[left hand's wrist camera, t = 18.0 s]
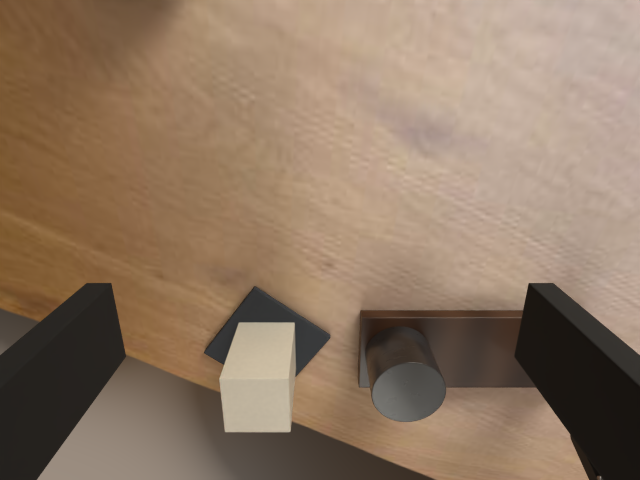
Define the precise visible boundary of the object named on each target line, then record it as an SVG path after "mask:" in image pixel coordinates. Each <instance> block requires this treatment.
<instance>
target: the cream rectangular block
mask: <svg viewBox="0 0 640 480" xmlns="http://www.w3.org/2000/svg"><path fill="white" fill-rule="evenodd" d="M295 373H296V352H295V323H294V322H239V324H238V326H237V329H236V332H235V335H234V338H233V341H232V344H231V347H230V349H229V352H228V355H227V358H226V361H225V364H224V367H223V370H222V372H221V375H220V378H219V381H220V391H221V400H222V409H223V418H224V428H225V432H290V431H291V420H292V408H293V396H294V385H295Z"/></svg>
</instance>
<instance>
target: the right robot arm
mask: <svg viewBox="0 0 640 480" xmlns="http://www.w3.org/2000/svg"><path fill="white" fill-rule="evenodd" d="M570 436H571V434H570ZM571 440H572V443H573V445H574V447H575V449H576V451H577V454H578V456H579V458H580V460H581V463H582V465H583V467H584V469H585V471H586V474H587V476H588V478H589V480H603V479H602V477H601V476H600V474H599V473H598V472H597V470H596V469H595V467H594V466H593V465H592V463H591V462H590V461H589V459H588V458H587V456H586V455H585V454H584V452H583V451H582V450H581V448H580V447H579V445H578V444H577V443H576V441H575V440H574V439H573V437H572V436H571Z"/></svg>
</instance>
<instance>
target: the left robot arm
mask: <svg viewBox="0 0 640 480" xmlns="http://www.w3.org/2000/svg"><path fill="white" fill-rule="evenodd" d="M125 357H126V354H125V349H124V344H123V339H122V334H121V329H120V324H119V319H118V315H117V310H116V305H115V300H114V295H113V290H112V285H111V283H86V284H85V285H84V286H83V287H82V288H80V289H79V290H78V291H77V292H76V293H74V294H73V295H72V296H71V297H70V298H68V299H67V300H66V301H65V302H64V303H62V304H61V305H60V306H59V307H58V308H56V309H55V310H54V311H53V312H52V313H50V314H49V315H48V316H47V317H46V318H44V319H43V320H42V321H41V322H40V323H38V324H37V325H36V326H35V327H34V328H33V329H31V330H30V331H29V332H28V333H26V334H25V335H24V336H23V337H22V338H20V339H19V340H18V341H17V342H16V343H15V344H13V345H12V346H11V347H10V348H9V349H7V350H6V351H5V352H4V353H2V354H1V355H0V480H37V479H38V477H39V476H40V474H41V473H42V472H43V470H44V469H45V467H46V466H47V465H48V463H49V462H50V461H51V459H52V458H53V456H54V455H55V454H56V452H57V451H58V450H59V448H60V447H61V445H62V444H63V443H64V441H65V440H66V439H67V437H68V436H69V434H70V433H71V432H72V430H73V429H74V427H75V426H76V425H77V423H78V422H79V421H80V419H81V418H82V416H83V415H84V414H85V412H86V411H87V410H88V408H89V407H90V405H91V404H92V403H93V401H94V400H95V399H96V397H97V396H98V394H99V393H100V392H101V390H102V389H103V387H104V386H105V385H106V383H107V382H108V381H109V379H110V378H111V376H112V375H113V374H114V372H115V371H116V370H117V368H118V367H119V365H120V364H121V363H122V361H123V360H124V359H125ZM514 357H515V359H516V360H517V361H518V363H519V364H520V365H521V367H522V368H523V370H524V371H525V372H526V374H527V375H528V376H529V378H530V379H531V381H532V382H533V383H534V385H535V386H536V387H537V389H538V390H539V392H540V393H541V394H542V396H543V397H544V399H545V400H546V401H547V403H548V404H549V405H550V407H551V408H552V410H553V411H554V412H555V414H556V415H557V416H558V418H559V419H560V421H561V422H562V423H563V425H564V426H565V427H566V429H567V430H568V432H569V433H570V434H571V436H572V437H573V439H574V440H575V441H576V443H577V444H578V445H579V447H580V448H581V450H582V451H583V452H584V454H585V455H586V456H587V458H588V459H589V461H590V462H591V463H592V465H593V466H594V467H595V469H596V470H597V472H598V473H599V474H600V476H601V477H602V479H603V480H640V355H639V354H638V353H636V352H635V351H634V350H633V349H632V348H630V347H629V346H628V345H627V344H626V343H624V342H623V341H622V340H621V339H620V338H618V337H617V336H616V335H615V334H614V333H612V332H611V331H610V330H609V329H608V328H606V327H605V326H604V325H603V324H602V323H600V322H599V321H598V320H597V319H596V318H594V317H593V316H592V315H591V314H590V313H588V312H587V311H586V310H585V309H584V308H582V307H581V306H580V305H579V304H578V303H576V302H575V301H574V300H573V299H572V298H570V297H569V296H568V295H567V294H566V293H564V292H563V291H562V290H561V289H560V288H558V287H557V286H556V285H555V284H554V283H529V285H528V290H527V295H526V300H525V305H524V310H523V315H522V319H521V324H520V329H519V334H518V339H517V344H516V349H515V354H514Z"/></svg>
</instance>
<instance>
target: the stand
mask: <svg viewBox="0 0 640 480" xmlns="http://www.w3.org/2000/svg"><path fill="white" fill-rule="evenodd" d="M522 315H523V311H361V312H360V336H359V361H358V384H359V387H370V390H371V396H372V401H373V404H374V405H375V407H376V409H377V410H378V411H379V412H380V413H381V414H382V415H384V416H385V417H387V418H389V419H392V420H395V421H400V422H412V421H417V420H421V419H423V418H426V417H428V416H429V415H431V414H433V413H434V412H435V411H436V410H437V409H438V408H439V407H440V406H441V404H442V403H443V401H444V398H445V394H446V387H536V386H535V385H534V383H533V382H532V381H531V379H530V378H529V376H528V375H527V374H526V372H525V371H524V370H523V368H522V367H521V365H520V364H519V363H518V361H517V360H516V359H515V357H514V354H515V349H516V344H517V339H518V334H519V329H520V324H521V319H522Z"/></svg>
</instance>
